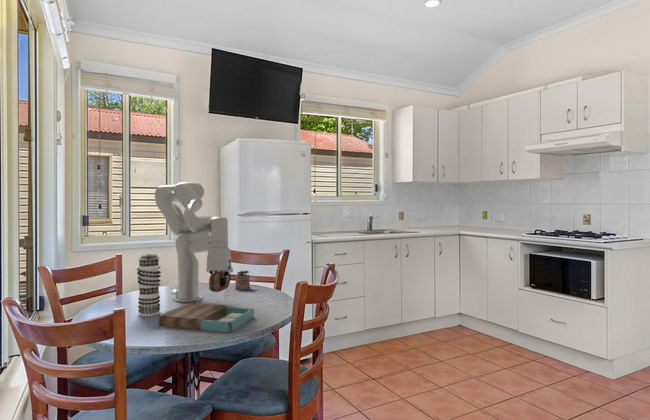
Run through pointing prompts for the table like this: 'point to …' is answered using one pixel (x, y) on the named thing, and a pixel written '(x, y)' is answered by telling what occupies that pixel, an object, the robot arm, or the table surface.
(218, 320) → the cream tile
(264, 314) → the table surface
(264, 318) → the table surface
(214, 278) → the tin
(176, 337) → the table surface
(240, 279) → the lighter
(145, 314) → the decorative candle
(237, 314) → the cream tile
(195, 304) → the plate
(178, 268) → the robot arm
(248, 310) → the box
